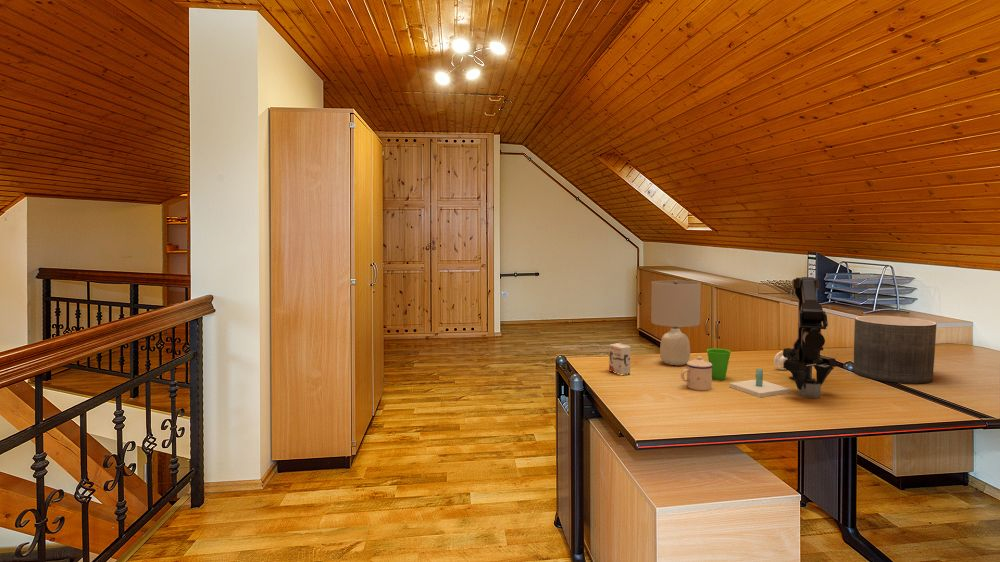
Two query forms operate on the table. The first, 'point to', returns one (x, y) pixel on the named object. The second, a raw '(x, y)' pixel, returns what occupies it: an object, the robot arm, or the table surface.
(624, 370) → the ink box
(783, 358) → the ring around a ball
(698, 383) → the teacup with lid
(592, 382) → the table surface
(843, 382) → the table surface
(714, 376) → the cup
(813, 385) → the steel collar
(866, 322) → the planter
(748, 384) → the post block
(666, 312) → the lamp
